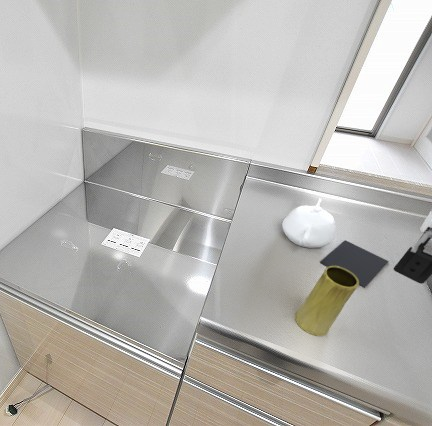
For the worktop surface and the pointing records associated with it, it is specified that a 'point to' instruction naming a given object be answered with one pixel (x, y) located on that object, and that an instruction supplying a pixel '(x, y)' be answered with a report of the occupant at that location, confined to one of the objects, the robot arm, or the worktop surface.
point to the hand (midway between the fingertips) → (420, 260)
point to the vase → (326, 300)
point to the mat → (355, 261)
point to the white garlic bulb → (310, 226)
